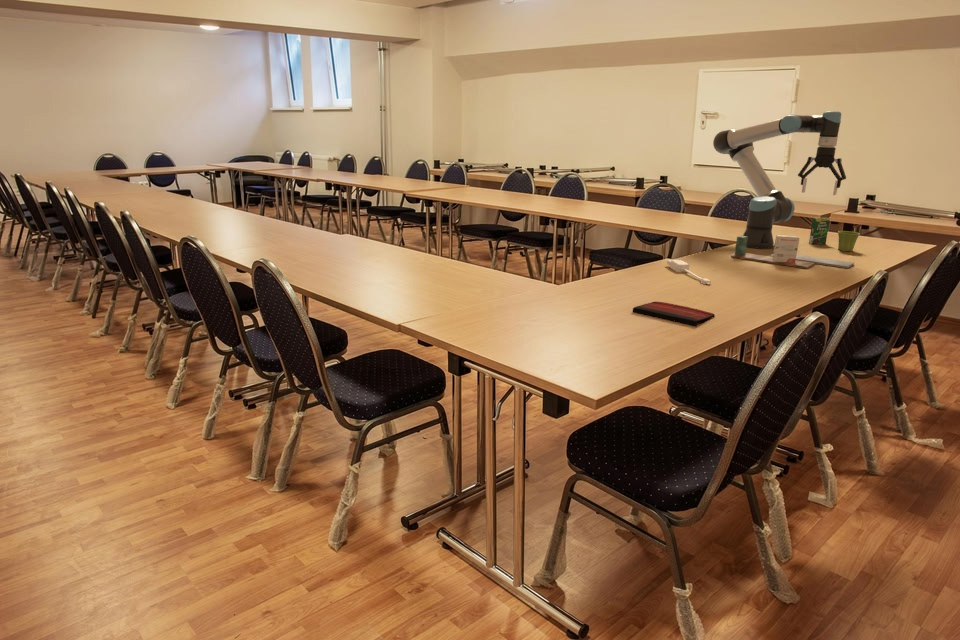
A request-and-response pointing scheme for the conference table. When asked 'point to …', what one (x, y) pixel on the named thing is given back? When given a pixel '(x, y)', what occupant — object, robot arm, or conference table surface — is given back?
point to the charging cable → (684, 269)
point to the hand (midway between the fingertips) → (818, 193)
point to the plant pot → (847, 240)
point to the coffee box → (819, 230)
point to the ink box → (785, 248)
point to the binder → (674, 313)
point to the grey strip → (823, 261)
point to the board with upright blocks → (741, 253)
